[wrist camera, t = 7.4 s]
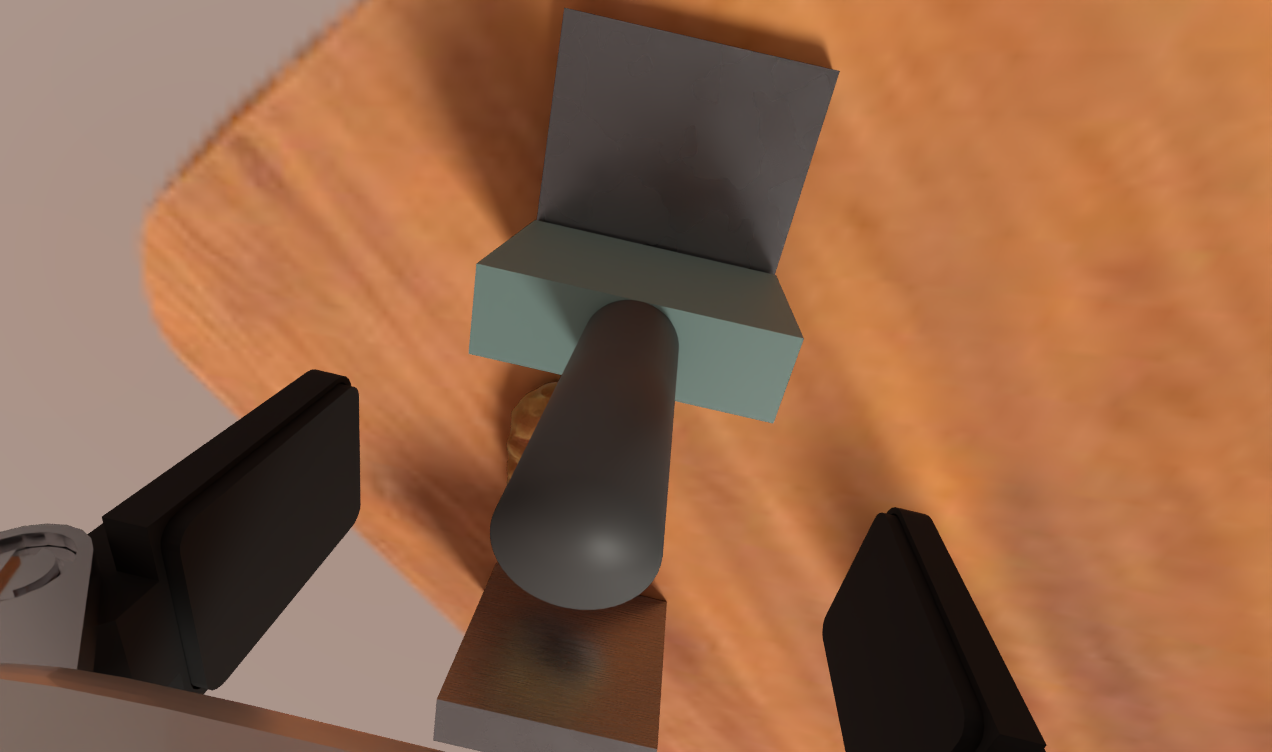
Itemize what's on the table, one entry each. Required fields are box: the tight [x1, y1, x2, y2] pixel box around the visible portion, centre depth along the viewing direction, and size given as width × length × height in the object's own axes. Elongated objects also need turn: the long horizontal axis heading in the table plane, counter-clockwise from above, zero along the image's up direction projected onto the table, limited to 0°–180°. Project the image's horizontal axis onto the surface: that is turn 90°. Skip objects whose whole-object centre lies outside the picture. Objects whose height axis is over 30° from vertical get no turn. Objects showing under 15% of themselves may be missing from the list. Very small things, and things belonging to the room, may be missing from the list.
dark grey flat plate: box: [537, 8, 840, 275], centre depth 24 cm, size 12×10×1 cm
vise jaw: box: [469, 220, 804, 610], centre depth 17 cm, size 3×10×16 cm, turn 78°
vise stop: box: [433, 563, 667, 752], centre depth 31 cm, size 3×10×8 cm, turn 78°
